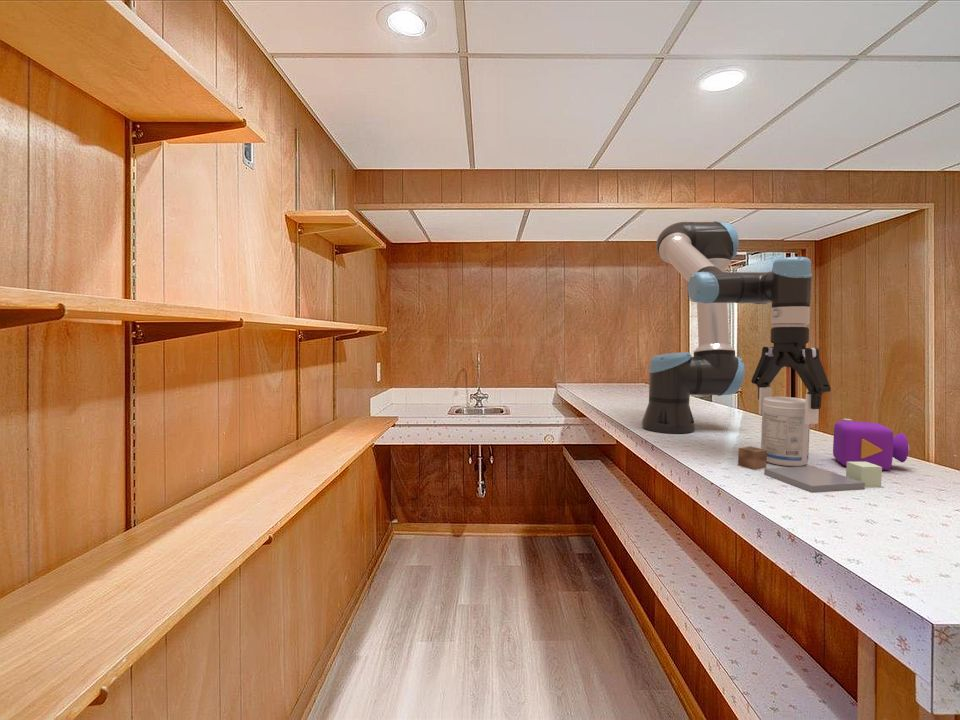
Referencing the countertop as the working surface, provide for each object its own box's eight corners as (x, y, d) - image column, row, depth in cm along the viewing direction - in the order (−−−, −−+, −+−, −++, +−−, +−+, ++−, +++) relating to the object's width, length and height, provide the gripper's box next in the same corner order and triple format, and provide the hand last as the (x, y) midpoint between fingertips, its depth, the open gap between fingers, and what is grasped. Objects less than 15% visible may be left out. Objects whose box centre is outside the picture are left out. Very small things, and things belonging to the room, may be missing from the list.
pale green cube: (845, 480, 103) (846, 461, 103) (865, 480, 103) (866, 461, 103) (860, 487, 99) (862, 466, 99) (880, 487, 99) (882, 466, 99)
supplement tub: (774, 454, 124) (776, 395, 123) (816, 463, 116) (819, 400, 115) (751, 460, 119) (754, 398, 118) (794, 469, 111) (797, 403, 110)
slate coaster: (764, 474, 107) (764, 468, 107) (812, 471, 109) (812, 466, 109) (811, 492, 95) (811, 486, 95) (864, 488, 98) (864, 482, 98)
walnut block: (738, 465, 114) (738, 448, 114) (749, 463, 116) (750, 446, 116) (754, 470, 111) (755, 452, 110) (766, 467, 112) (767, 450, 112)
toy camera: (919, 474, 108) (922, 428, 107) (847, 470, 111) (849, 425, 110) (889, 461, 119) (891, 419, 118) (824, 458, 121) (826, 416, 121)
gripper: (737, 327, 127) (734, 411, 128) (822, 324, 102) (818, 428, 103) (763, 327, 128) (760, 410, 129) (853, 325, 104) (849, 427, 105)
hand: (786, 418), depth 116 cm, fingers open, 13 cm apart
